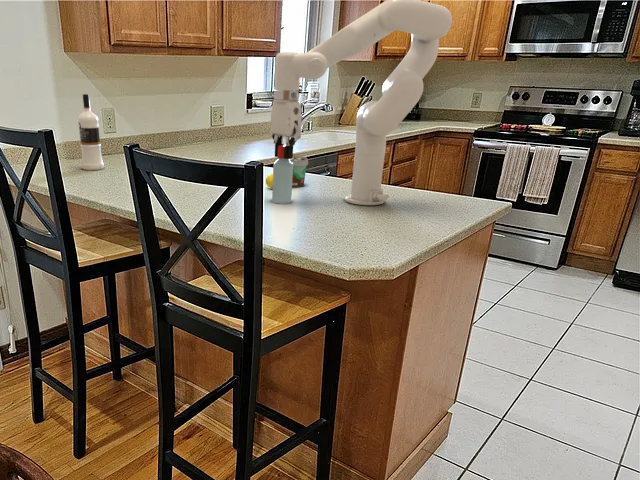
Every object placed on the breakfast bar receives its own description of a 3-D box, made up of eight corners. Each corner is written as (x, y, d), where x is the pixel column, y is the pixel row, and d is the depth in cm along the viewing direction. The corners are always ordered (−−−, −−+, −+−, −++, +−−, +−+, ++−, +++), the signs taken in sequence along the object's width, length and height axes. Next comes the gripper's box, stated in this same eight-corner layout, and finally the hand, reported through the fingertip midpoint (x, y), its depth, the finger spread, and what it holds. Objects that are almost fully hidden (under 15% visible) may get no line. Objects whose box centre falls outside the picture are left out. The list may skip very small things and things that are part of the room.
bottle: (295, 201, 174) (298, 147, 167) (280, 204, 170) (283, 149, 163) (282, 198, 179) (284, 145, 172) (268, 200, 175) (269, 146, 168)
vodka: (105, 169, 224) (98, 94, 212) (83, 171, 220) (75, 94, 208) (102, 166, 231) (95, 93, 219) (80, 167, 228) (72, 93, 216)
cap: (292, 157, 168) (292, 146, 167) (283, 158, 166) (283, 147, 165) (284, 156, 171) (284, 144, 170) (275, 157, 169) (275, 145, 168)
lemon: (262, 187, 195) (262, 172, 192) (274, 186, 197) (274, 171, 195) (272, 191, 189) (272, 176, 187) (284, 189, 191) (285, 174, 189)
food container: (305, 189, 193) (307, 161, 189) (288, 188, 194) (290, 160, 190) (308, 182, 204) (310, 156, 200) (292, 181, 205) (293, 155, 201)
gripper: (314, 97, 157) (310, 160, 165) (277, 95, 169) (275, 153, 177) (295, 98, 153) (292, 162, 161) (259, 95, 165) (258, 155, 173)
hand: (283, 156), depth 169 cm, fingers closed on cap, 3 cm apart
